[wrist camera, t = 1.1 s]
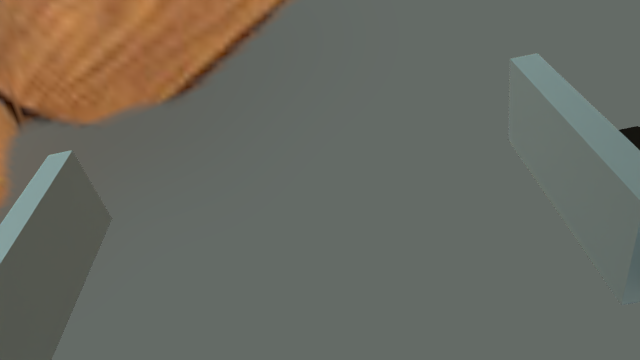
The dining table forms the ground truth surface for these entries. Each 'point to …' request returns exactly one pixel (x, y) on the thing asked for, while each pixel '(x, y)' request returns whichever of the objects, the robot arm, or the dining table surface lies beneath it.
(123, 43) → the dining table surface
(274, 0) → the dining table surface
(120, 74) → the dining table surface
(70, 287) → the robot arm
